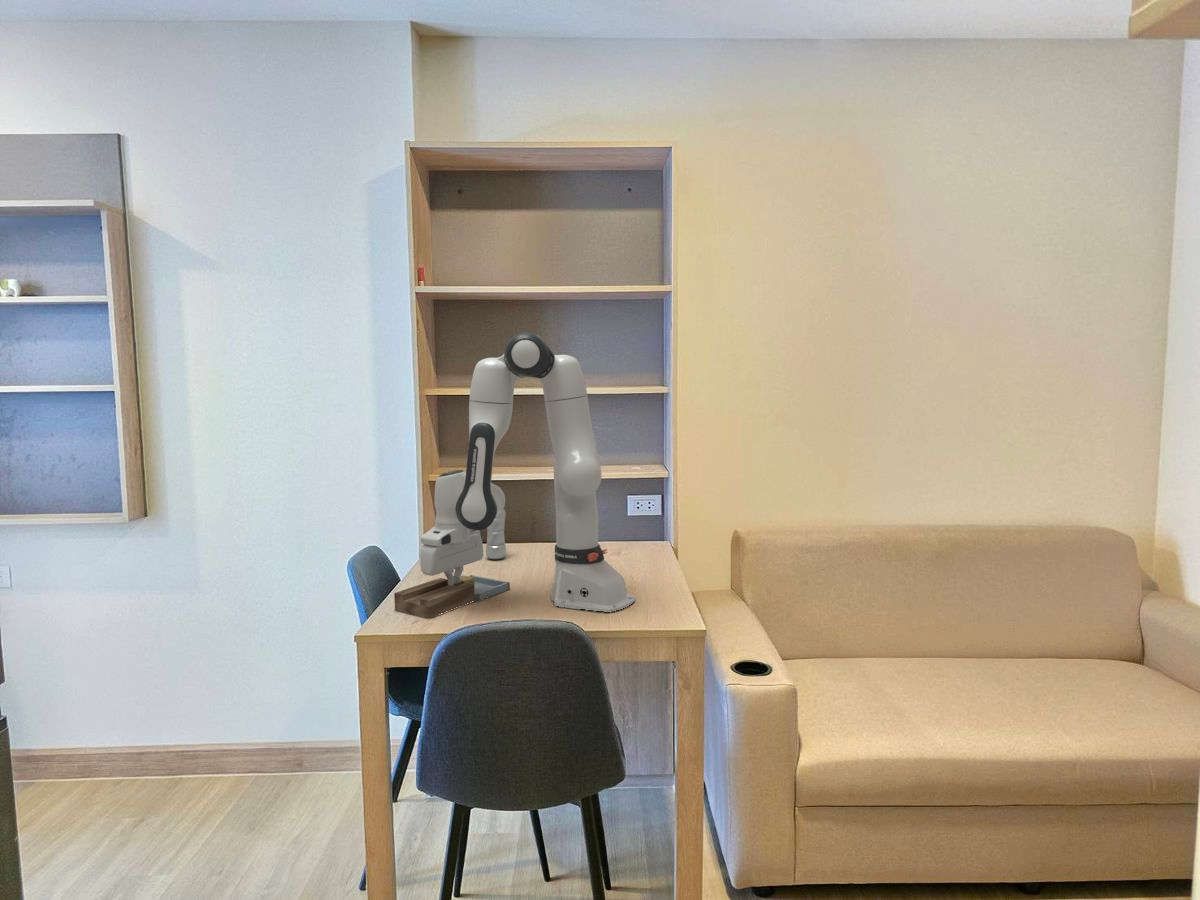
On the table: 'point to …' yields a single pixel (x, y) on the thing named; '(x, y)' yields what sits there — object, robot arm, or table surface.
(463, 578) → the brass block
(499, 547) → the plastic bottle
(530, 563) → the table surface
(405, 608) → the slotted board
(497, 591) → the tray
